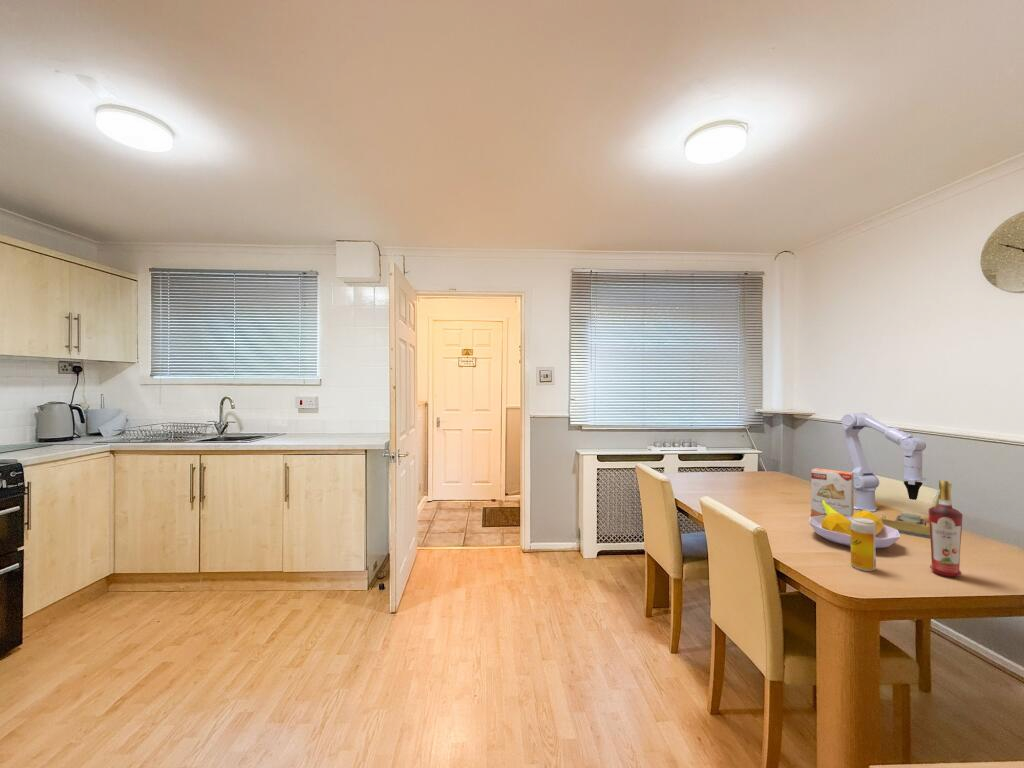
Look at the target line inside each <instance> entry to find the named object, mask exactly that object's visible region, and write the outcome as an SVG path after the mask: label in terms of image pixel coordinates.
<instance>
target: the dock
mask: <svg viewBox="0 0 1024 768" xmlns="http://www.w3.org/2000/svg"><path fill="white" fill-rule="evenodd" d="M880 518H881V519H882V522H883V525H886V526H889V527H891V528H894V529H896V530H898V532H899V534H904V535H908V536H914V537H920V538H925V539H930V540H931V538H930V527H929V525H926V526H924V525H918V524H912V523H906V522H900V521H895V520H892V519H887V515H885V514H884V515H882V516H881V517H880Z"/></svg>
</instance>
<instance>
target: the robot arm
mask: <svg viewBox="0 0 1024 768" xmlns="http://www.w3.org/2000/svg"><path fill="white" fill-rule="evenodd" d="M840 422H841V425H842V431H841V432H842V437H843V440H844V443H845V446H846V449H847V451H848V454H849V458H850V460H851V465H852V468H853V470H852V471H851V472H852V473H854V510H860V511H862V510H869V511H871V512H872V513H875V512H876V511H877V509H879V508H878V506H876V491H877V488H878V487H879V485H880V480H879V478H878V477H877V475H876V473H875V471H874V470H873V469H871V468H870V467H869V465H868V462H867V458H866V456H865V452H864V450H863V446H862V444H861V440H860V437H859V433H860V432H861V431H862V430H863V429H864V428H865V427H869V428H871V429H873V430H875V431H877V432H879V433H881V434H883V435H884V437H885V439H886V440H889V441H891V442H892V443H895V444H897V445H898V446H899V447H900V449H901V451H902V454H903V476H902V478H903V479H904V481H903V484H904V486H905V488H906V491H907V495H908V498H909V500H914V501H917V499H918V496H919V491H920V489H921V487H922V485H923V482H922V481H927V478H926V477H925V478H924V477H923V451H925V449H926V448H927V443H926V441H925V440H924V439H923V438H921V437H918V436H915V437H914V436H913V434H910V433H906V432H905V431H903V430H902V428H900V427H889V426H887V425H886V424H885V423H883V422H881V421H880V420H878V419H876V418H874V417H873V416H872V415H869V414H868V413H867V412H854V413H852V412H847V413H845V414H844V415H843V416H842V417H841V418H840Z"/></svg>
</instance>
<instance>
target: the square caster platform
mask: <svg viewBox="0 0 1024 768" xmlns="http://www.w3.org/2000/svg"><path fill="white" fill-rule="evenodd" d="M921 517H922V516H921V514H918V513H913V512H904V511H901V512H900V514H898V515H897V516H896V518H895V520H894V521H900V522H906V523H912V524H918V525H924V526H927V519H924V518H921Z"/></svg>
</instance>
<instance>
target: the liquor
mask: <svg viewBox="0 0 1024 768" xmlns="http://www.w3.org/2000/svg"><path fill="white" fill-rule="evenodd" d="M938 486H939V487H938V489H939V497H938V505H936V506H932V507H930V508H928V524H929V525H928V526H929V527H930V538H931V539H930V538H929V539H930V553H931V554H930V555H931V564H930V566H929V568H930V569H931V570H932V571H933V572H934V573H935V574H937V575H938V576H941V577H945V578H957V577H958V576H961V575H962V572H961V570H960V566H961V565H960V562H961V560H960V559H961V540H962V531H963V530H962V529H963V513H962V512H961V511H960V510H957V509H956V508H953V504H952V496H951V495H952V494H951V491H952V481H949V480H948V481H947V480H938Z"/></svg>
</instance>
